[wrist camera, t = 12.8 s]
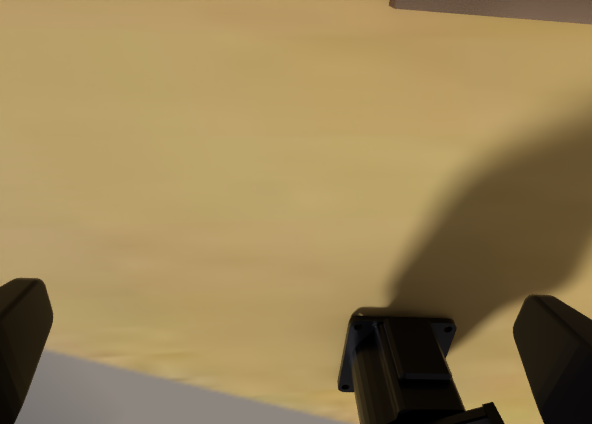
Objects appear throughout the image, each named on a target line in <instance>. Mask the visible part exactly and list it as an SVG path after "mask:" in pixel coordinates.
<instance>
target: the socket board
mask: <svg viewBox="0 0 592 424" xmlns="http://www.w3.org/2000/svg"><path fill="white" fill-rule="evenodd" d="M389 6H391V7H393V8H395V9H406V10H419V11H431V12H444V13H456V14H469V15H481V16H494V17H506V18H519V19H531V20H544V21H557V22H569V23H582V24H592V0H390V2H389Z"/></svg>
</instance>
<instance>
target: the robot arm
mask: <svg viewBox="0 0 592 424" xmlns="http://www.w3.org/2000/svg"><path fill="white" fill-rule="evenodd" d="M52 323H53V311H52V307H51V304H50V300H49V297H48V293H47V290H46V286H45V284H44V282H43V281H42V280H41V279H38V278H16V279H14V280H12V281H10V282H8V283H6V284H4V285H3V286H1V287H0V424H14V423H15V421H16V419H17V416H18V414H19V412H20V410H21V408H22V406H23V403H24V400H25V398H26V395H27V392H28V390H29V387H30V385H31V382H32V379H33V376H34V373H35V371H36V368H37V365H38V363H39V360H40V357H41V354H42V351H43V349H44V346H45V343H46V340H47V338H48V335H49V332H50V329H51V326H52ZM356 324H359V325H356ZM455 332H456V325H455V323H454V321H453V320H451V319H444V318H409V317H374V316H355V317H353V318H351V319H350V320H349V324H348V329H347V334H346V339H345V345H344V350H343V355H342V360H341V366H340V371H339V376H338V381H337V382H338V389H339V390H340V391H342V392H355V398H356V404H357V409H358V415H359V421H360V424H504V422H503V420H502V418H501V416H500V414H499V412H498V411H497V409H496V407H495V405H494V403H493V402H490V403H486V404H482V407H479V408H475V409H471V410H468V411H466V410H465V408H464V405H463V403H462V400H461V398H460V395H459V393H458V391H457V388H456V386H455V383H454V381H453V378H452V374H451V371H450V369H449V367H448V364H447V362H446V356H447V353H448V351H449V348H450V345H451V342H452V340H453V337H454V334H455ZM513 336H514V340H515V343H516V346H517V348H518V351H519V354H520V357H521V360H522V363H523V366H524V369H525V372H526V375H527V378H528V381H529V384H530V387H531V390H532V393H533V396H534V399H535V402H536V404H537V407H538V410H539V412H540V415H541V417H542V420H543V422H544V424H592V320H591V319H590V318H588V317H586V316H585V315H583V314H581V313H580V312H578V311H577V310H575V309H573V308H572V307H570V306H568V305H567V304H565V303H564V302H562V301H560V300H559V299H557V298H555V297H554V296H551V295H529V296H528V297H527V298H526V299H525V301H524V303H523V305H522V308H521V310H520V312H519V314H518V316H517V319H516V321H515V323H514V327H513Z"/></svg>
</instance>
